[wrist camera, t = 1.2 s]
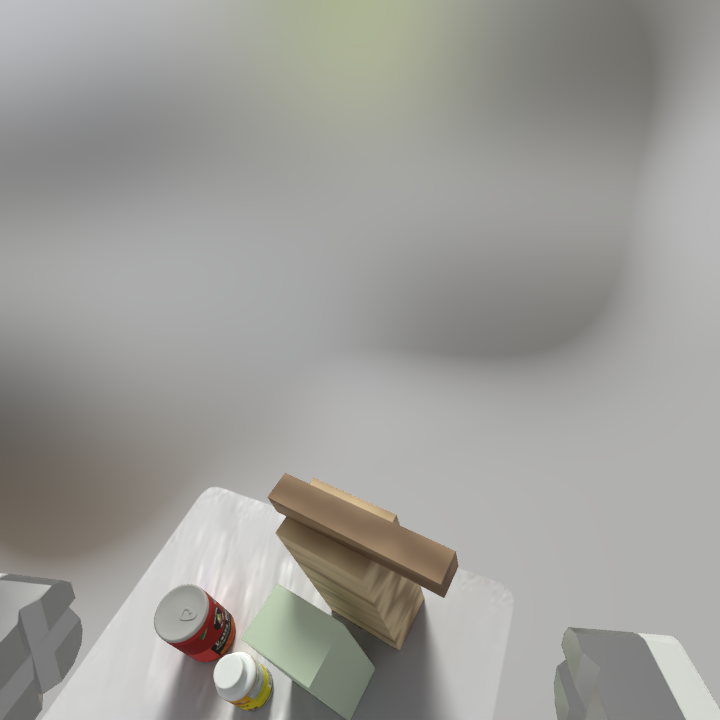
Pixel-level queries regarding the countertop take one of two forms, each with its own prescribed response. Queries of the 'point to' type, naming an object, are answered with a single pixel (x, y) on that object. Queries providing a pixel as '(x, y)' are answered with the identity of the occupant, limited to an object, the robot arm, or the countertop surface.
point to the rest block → (311, 650)
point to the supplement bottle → (243, 681)
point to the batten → (367, 534)
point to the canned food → (194, 623)
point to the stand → (355, 577)
